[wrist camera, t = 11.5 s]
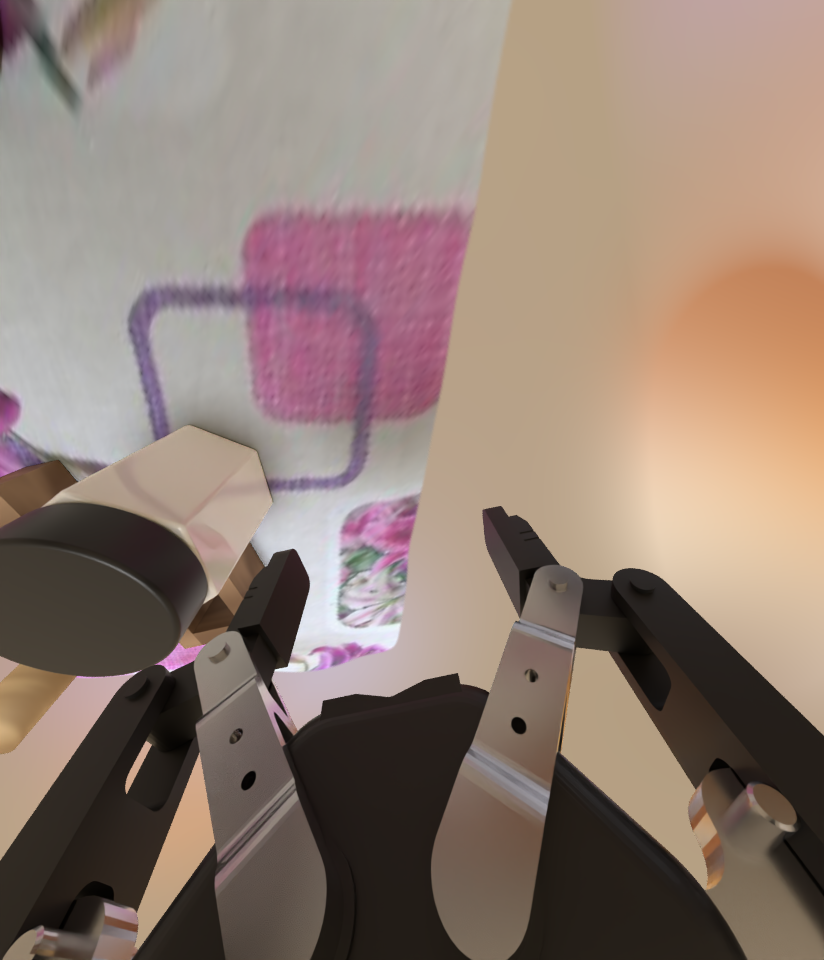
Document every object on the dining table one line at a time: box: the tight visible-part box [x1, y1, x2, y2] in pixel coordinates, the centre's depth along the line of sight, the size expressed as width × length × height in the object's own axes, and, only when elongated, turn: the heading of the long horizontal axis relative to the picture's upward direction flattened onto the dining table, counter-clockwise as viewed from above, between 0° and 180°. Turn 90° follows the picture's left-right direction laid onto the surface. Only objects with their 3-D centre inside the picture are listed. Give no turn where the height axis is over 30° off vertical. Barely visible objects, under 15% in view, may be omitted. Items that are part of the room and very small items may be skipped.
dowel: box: [0, 664, 76, 754], centre depth 22 cm, size 3×3×10 cm
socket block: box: [179, 542, 264, 649], centre depth 25 cm, size 7×7×4 cm
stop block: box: [0, 460, 77, 527], centre depth 20 cm, size 7×2×4 cm, turn 11°
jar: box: [0, 425, 273, 677], centre depth 17 cm, size 9×8×12 cm
